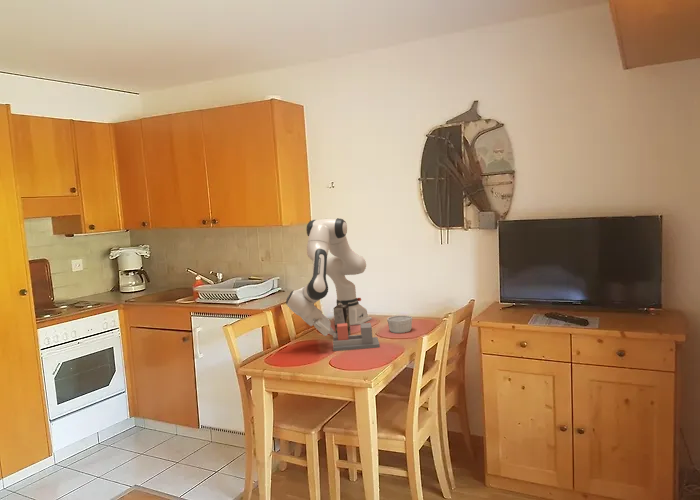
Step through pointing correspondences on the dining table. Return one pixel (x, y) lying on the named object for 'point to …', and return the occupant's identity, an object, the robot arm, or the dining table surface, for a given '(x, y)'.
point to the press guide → (357, 340)
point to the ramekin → (400, 323)
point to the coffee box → (341, 316)
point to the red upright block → (342, 331)
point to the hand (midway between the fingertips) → (335, 335)
